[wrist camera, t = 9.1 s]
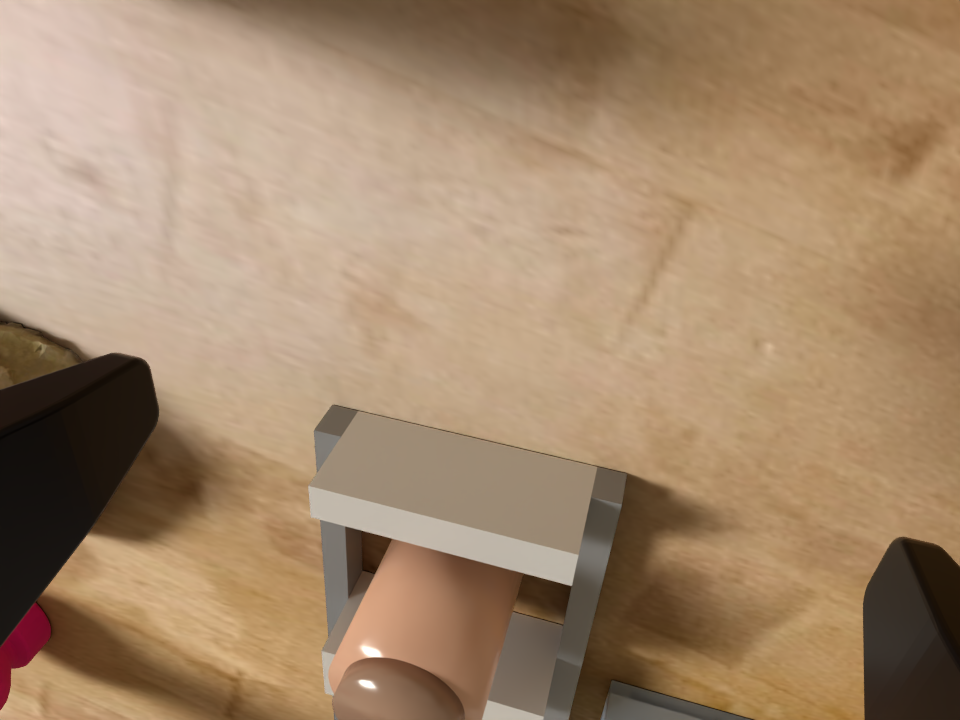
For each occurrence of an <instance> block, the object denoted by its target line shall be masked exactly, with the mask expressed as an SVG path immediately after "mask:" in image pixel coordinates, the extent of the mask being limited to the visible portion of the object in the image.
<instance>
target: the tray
mask: <svg viewBox="0 0 960 720" xmlns="http://www.w3.org/2000/svg"><path fill="white" fill-rule="evenodd" d="M600 720H751V719H747V718H744V717H740V716H737V715H733V714H730V713H726V712H723V711H719V710H715V709H712V708H708V707H705V706H701V705H698V704H694V703H691V702H687V701H684V700H680V699H677V698H673V697H670V696H666V695H663V694H659V693H656V692H652V691H648V690H645V689H641V688H638V687H634V686H631V685H627V684H624V683H620V682H617V681H613V680H612V681H611V685H610V688H609V691H608V695H607V698H606V702H605V705H604V709H603V712H602V715H601V719H600Z"/></svg>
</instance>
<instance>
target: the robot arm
mask: <svg viewBox="0 0 960 720" xmlns="http://www.w3.org/2000/svg"><path fill="white" fill-rule="evenodd" d="M158 417H159V406H158V402H157V397H156V392H155V388H154V383H153V379H152V374H151V369H150V366H149V365H148V363H147V362H146V361H145V360H143V359H142V358H139V357H135V356H131V355H126V354H122V353H110V354H107V355H104V356H100V357H97V358H94V359H91V360H88V361H85V362H82V363H79V364H76V365H73V366H70V367H67V368H64V369H61V370H58V371H55V372H52V373H49V374H46V375H42V376H39V377H36V378H33V379H30V380H27V381H24V382H21V383H18V384H15V385H12V386H9V387H6V388H3V389H0V647H1V646H2V645H3V644H4V642H5V641H6V640H7V638H8V637H9V636H10V634H11V633H12V632H13V631H14V629H15V628H16V627H17V625H18V624H19V623H20V621H21V620H22V619H23V618H24V616H25V615H26V614H27V612H28V611H29V610H30V608H31V607H32V606H33V604H34V603H35V602H36V601H37V599H38V598H39V597H40V595H41V594H42V593H43V591H44V590H45V589H46V588H47V586H48V585H49V584H50V582H51V581H52V580H53V578H54V577H55V576H56V575H57V573H58V572H59V571H60V569H61V568H62V567H63V565H64V564H65V563H66V562H67V560H68V559H69V558H70V556H71V555H72V554H73V552H74V551H75V550H76V549H77V547H78V546H79V545H80V543H81V542H82V541H83V539H84V538H85V537H86V535H87V534H88V533H89V531H90V530H91V529H92V527H93V526H94V524H95V523H96V521H97V520H98V518H99V517H100V515H101V514H102V512H103V511H104V509H105V508H106V506H107V505H108V503H109V501H110V500H111V498H112V497H113V495H114V493H115V492H116V490H117V488H118V487H119V485H120V484H121V482H122V480H123V479H124V477H125V476H126V474H127V472H128V471H129V469H130V467H131V466H132V464H133V463H134V461H135V459H136V458H137V456H138V454H139V453H140V451H141V450H142V448H143V446H144V445H145V443H146V442H147V440H148V438H149V437H150V435H151V433H152V432H153V430H154V428H155V426H156V424H157V421H158ZM863 638H864V712H865V720H960V566H959V565H958V564H957V563H956V562H955V561H954V560H953V559H952V558H951V557H950V555H949V554H948V553H947V552H946V551H945V550H944V549H943V548H941V547H940V546H938V545H936V544H933V543H929V542H924V541H920V540H916V539H912V538H907V537H899V538H896V539H895V540H894V541H893V542H892V543H891V544H890V545H889V547H888V549H887V551H886V553H885V554H884V556H883V558H882V560H881V562H880V563H879V565H878V567H877V569H876V571H875V572H874V574H873V576H872V578H871V580H870V581H869V583H868V585H867V588H866V591H865V595H864V601H863Z"/></svg>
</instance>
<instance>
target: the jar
mask: <svg viewBox="0 0 960 720" xmlns="http://www.w3.org/2000/svg"><path fill="white" fill-rule="evenodd" d="M523 574H524V573H521V572H517V571H513V570H509V569H505V568H502V567H498V566H494V565H490V564H486V563H483V562H479V561H475V560H471V559H467V558H464V557H460V556H456V555H452V554H449V553H445V552H441V551H437V550H433V549H430V548H426V547H422V546H418V545H414V544H411V543H407V542H403V541H399V540H395V539H392V541H391V543H390V545H389V547H388V549H387V551H386V553H385V555H384V557H383V559H382V561H381V563H380V565H379V567H378V569H377V571H376V573H375V575H374V577H373V579H372V581H371V583H370V585H369V587H368V589H367V591H366V593H365V595H364V597H363V600H362V602H361V604H360V606H359V608H358V610H357V612H356V614H355V616H354V618H353V620H352V622H351V624H350V626H349V628H348V630H347V632H346V634H345V636H344V638H343V640H342V642H341V644H340V646H339V648H338V650H337V652H336V654H335V656H334V658H333V660H332V662H331V664H330V667H329V671H328V678H329V683H330V686H331V689H332V691H333V693H334V696H333V700H332V705H333V710H334V713H335V715H336V717H337V719H338V720H482V718H483V714H484V711H485V707H486V704H487V700H488V697H489V693H490V690H491V686H492V683H493V679H494V676H495V672H496V669H497V665H498V662H499V658H500V655H501V651H502V648H503V644H504V641H505V637H506V634H507V630H508V627H509V623H510V620H511V616H512V613H513V609H514V606H515V602H516V599H517V595H518V592H519V588H520V585H521V581H522V578H523Z"/></svg>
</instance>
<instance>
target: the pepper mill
mask: <svg viewBox="0 0 960 720" xmlns="http://www.w3.org/2000/svg"><path fill="white" fill-rule="evenodd" d="M50 635H51V627H50V623H49V621H48V618H47V617H46V615H45V613H44V612H43V611H42V609H41V608H40V607H39V606H38V605H37V603H36V602H35V603H34V604H33V606H32V607H31V608H30V610H29V611H28V612H27V614H26V615H25V616H24V618H23V619H22V620H21V621H20V623H19V624H18V625H17V627H16V628H15V629H14V631H13V632H12V633H11V634H10V636H9V637H8V638H7V640H6V641H5V642H4V644H3V645H2V646H1V647H0V710H1V709H2V707H3V706H4V704H5V703H6V701H7V698H8V695H9V692H10V686H11V668H12V669H15V668H20V667H24V666H26V665H27V664H28V663H29V662H30V661H31V660H32V659H33V657H34V656H35V655H36V654H37V653H38V652H39V651H40V649H41V648H42V647H43V646H44V645H45V644H46V643H47V641H48V640H49V638H50Z"/></svg>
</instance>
